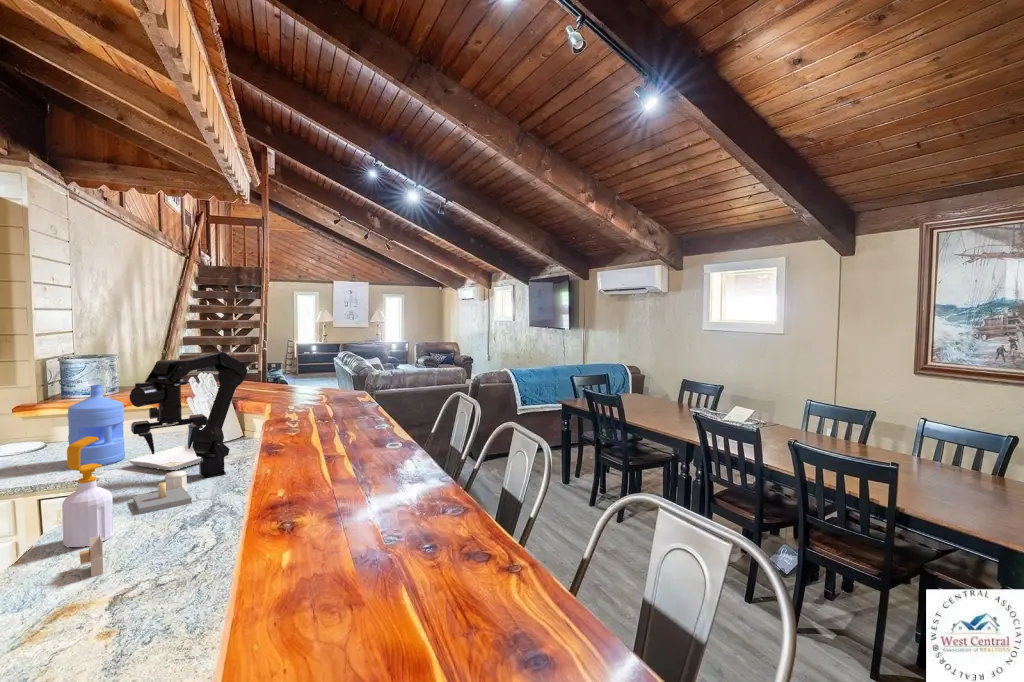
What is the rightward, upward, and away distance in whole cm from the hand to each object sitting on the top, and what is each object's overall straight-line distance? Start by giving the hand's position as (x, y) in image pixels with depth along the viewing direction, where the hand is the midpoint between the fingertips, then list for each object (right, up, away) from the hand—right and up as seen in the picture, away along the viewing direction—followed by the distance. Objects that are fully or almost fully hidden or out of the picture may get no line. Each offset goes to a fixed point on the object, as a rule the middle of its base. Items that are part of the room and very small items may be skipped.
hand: (171, 451), depth 151 cm
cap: (+1, -12, +1) cm, 12 cm away
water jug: (-46, -10, +28) cm, 55 cm away
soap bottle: (+4, -14, -34) cm, 37 cm away
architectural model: (+17, -15, -48) cm, 53 cm away
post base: (+4, -13, -10) cm, 17 cm away
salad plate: (-17, -11, +28) cm, 34 cm away
